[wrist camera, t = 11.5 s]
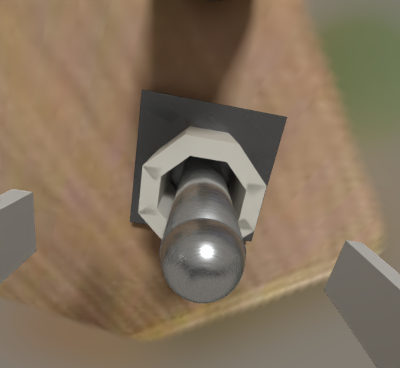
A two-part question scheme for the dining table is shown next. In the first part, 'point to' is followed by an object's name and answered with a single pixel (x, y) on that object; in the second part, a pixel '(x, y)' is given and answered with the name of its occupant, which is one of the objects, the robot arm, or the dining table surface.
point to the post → (202, 191)
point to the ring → (204, 148)
